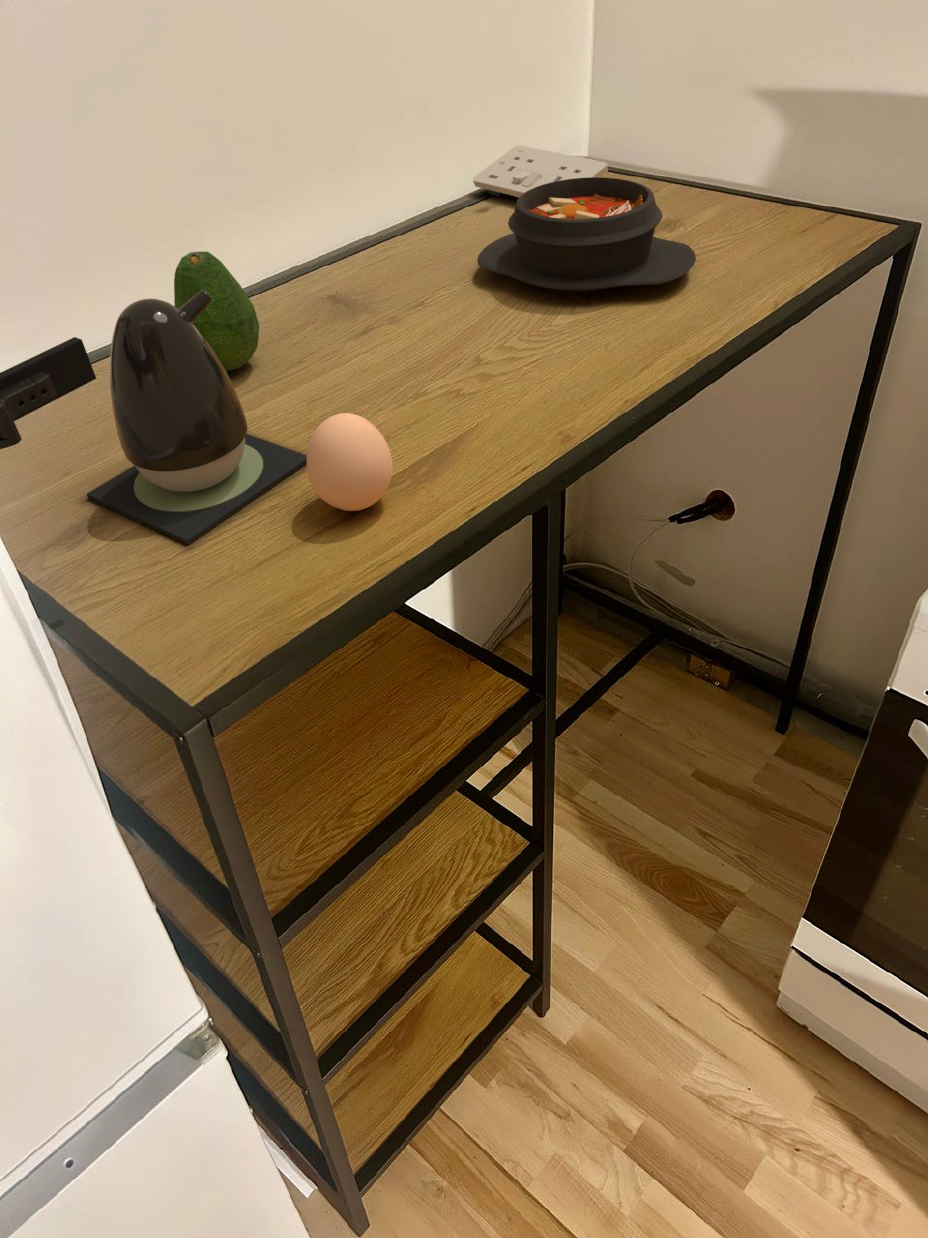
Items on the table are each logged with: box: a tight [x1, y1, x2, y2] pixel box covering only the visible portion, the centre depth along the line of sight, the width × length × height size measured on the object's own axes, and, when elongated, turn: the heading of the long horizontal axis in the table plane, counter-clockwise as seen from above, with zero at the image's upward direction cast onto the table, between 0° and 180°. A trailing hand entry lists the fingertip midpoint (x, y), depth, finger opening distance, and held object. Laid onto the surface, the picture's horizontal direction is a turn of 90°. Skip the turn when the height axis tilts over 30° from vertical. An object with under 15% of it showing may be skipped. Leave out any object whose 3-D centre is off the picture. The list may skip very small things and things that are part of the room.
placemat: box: [86, 433, 307, 546], centre depth 79 cm, size 13×14×1 cm
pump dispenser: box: [109, 290, 248, 492], centre depth 74 cm, size 10×10×15 cm
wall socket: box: [472, 144, 609, 199], centre depth 127 cm, size 18×15×4 cm
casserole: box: [476, 177, 697, 292], centre depth 104 cm, size 25×19×8 cm
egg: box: [306, 412, 394, 512], centre depth 72 cm, size 7×7×8 cm
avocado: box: [173, 251, 260, 373], centre depth 91 cm, size 8×8×12 cm
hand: (25, 336), depth 62 cm, fingers open, 13 cm apart
